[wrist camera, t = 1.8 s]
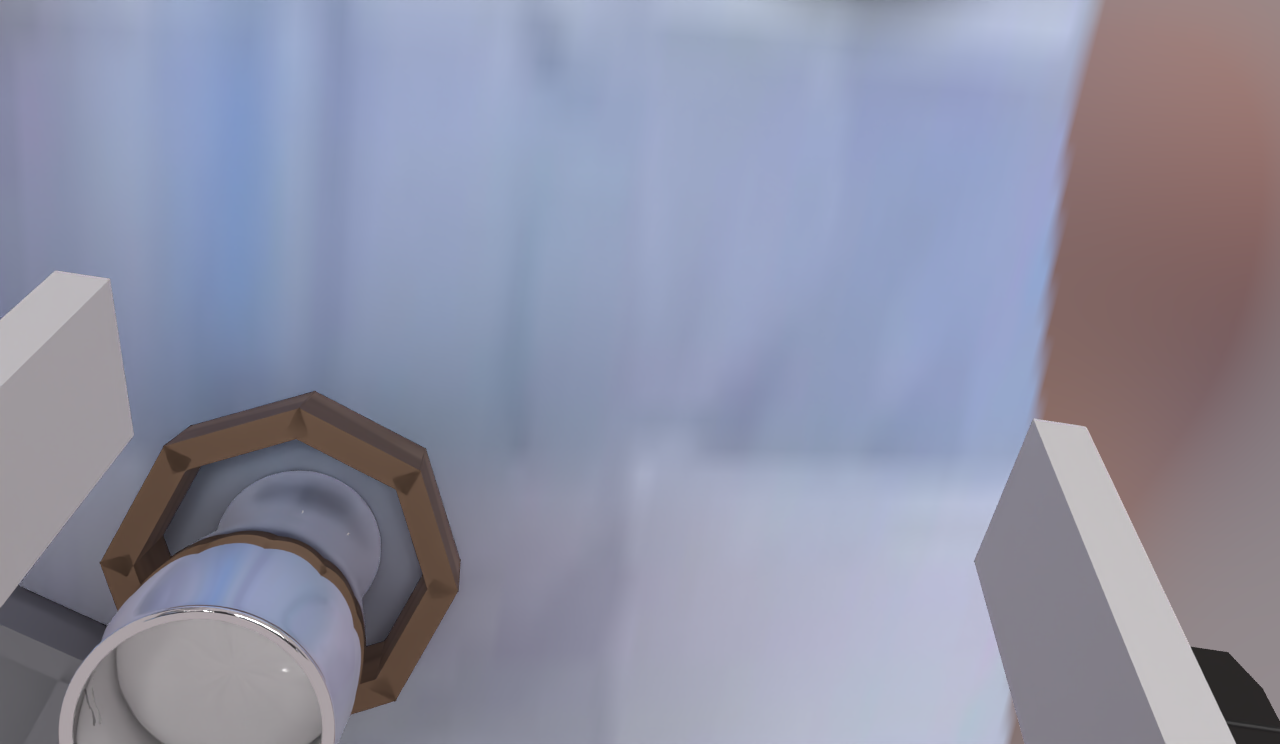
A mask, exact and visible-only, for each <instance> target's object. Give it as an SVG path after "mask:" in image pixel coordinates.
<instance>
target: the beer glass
mask: <svg viewBox="0 0 1280 744" xmlns="http://www.w3.org/2000/svg"><path fill="white" fill-rule="evenodd" d="M380 558H381V538H380V532H379V528H378V525H377V522H376V519H375V517H374V515H373V513H372V511H371V510H370V508H369V506H368V505H367V504H366V502H365V501H364V500H363V499H362V497H361V496H360V495H359V494H358V493H357V492H355V491H354V490H353V489H352V488H351V487H349V486H348V485H346V484H345V483H343V482H342V481H340V480H338V479H336V478H334V477H331V476H329V475H326V474H322V473H318V472H313V471H304V470H295V471H285V472H280V473H276V474H272V475H269V476H266V477H264V478H261V479H259V480H257V481H256V482H254V483H252V484H251V485H249V486H248V487H246V488H245V489H244V490H243V491H241V492H240V493H239V494H238V495H237V496H236V497H235V498H234V500H233V501H232V502H231V503H230V505H229V506H228V508H227V509H226V511H225V512H224V514H223V516H222V518H221V520H220V523H219V525H218V528H217V531H215V532H213V533H211V534H209V535H207V536H204V537H202V538H200V539H199V540H197V541H195V542H193V543H192V544H190V545H188V546H187V547H185V548H184V549H182V550H181V551H179V552H177V553H176V554H174V555H173V556H171V557H170V558H168V559H167V560H166V561H165V562H163V563H162V564H161V565H160V566H159V567H158V568H157V569H156V570H155V571H153V572H152V573H151V574H150V575H149V576H148V577H147V578H146V579H145V580H144V581H143V582H142V583H141V584H140V585H139V586H138V587H137V588H136V589H135V590H134V591H133V593H132V594H131V595H130V596H129V597H128V599H127V600H126V601H125V603H124V604H123V605H122V606H121V608H120V609H119V610H118V611H117V613H116V614H115V615H114V617H113V618H112V619H111V621H110V622H109V624H108V625H107V627H106V628H105V630H104V631H103V633H102V634H101V636H100V637H99V639H98V641H97V642H96V644H95V645H94V647H93V649H92V650H91V652H90V653H89V654H88V655H87V656H86V658H85V659H84V660H83V661H82V663H81V664H80V666H79V667H78V669H77V670H76V672H75V673H74V675H73V677H72V679H71V681H70V683H69V685H68V687H67V690H66V692H65V695H64V698H63V702H62V705H61V710H60V715H59V723H58V741H59V744H338V743H339V741H340V739H341V736H342V734H343V732H344V730H345V727H346V725H347V722H348V720H349V717H350V714H351V711H352V708H353V705H354V702H355V699H356V696H357V693H358V690H359V686H360V681H361V676H362V670H363V665H364V659H365V649H366V637H365V616H364V609H363V603H362V597H363V596H364V595H365V594H366V592H367V591H368V589H369V588H370V586H371V584H372V582H373V580H374V578H375V576H376V573H377V570H378V567H379V563H380Z"/></svg>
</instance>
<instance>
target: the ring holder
mask: <svg viewBox="0 0 1280 744" xmlns="http://www.w3.org/2000/svg"><path fill="white" fill-rule="evenodd" d="M295 439H297V440H299V441H301V442H303V443H305V444H307V445H309V446H311V447H313V448H315V449H317V450H319V451H321V452H323V453H325V454H327V455H329V456H331V457H333V458H335V459H337V460H339V461H341V462H343V463H345V464H346V465H348V466H350V467H352V468H354V469H356V470H358V471H360V472H362V473H364V474H366V475H368V476H370V477H372V478H374V479H376V480H378V481H380V482H382V483H384V484H386V485H388V486H390V487H392V488H394V489H396V491H397V494H398V497H399V501H400V504H401V507H402V510H403V513H404V516H405V520H406V523H407V526H408V529H409V532H410V535H411V539H412V542H413V545H414V548H415V551H416V554H417V558H418V561H419V564H420V567H421V570H422V573H423V575H422V576H421V578H420V580H419V582H418V584H417V585H416V587H415V589H414V591H413V592H412V594H411V596H410V598H409V599H408V601H407V603H406V605H405V606H404V608H403V610H402V612H401V613H400V615H399V617H398V619H397V620H396V622H395V624H394V626H393V627H392V629H391V631H390V633H389V635H388V636H387V638H386V640H385V641H383V642H380V643H377V644H373V645H370V646H367V647H366V649H365V659H364V665H363V670H362V676H361V681H360V686H359V690H358V693H357V696H356V699H355V702H354V705H353V708H352V711H351V714H354V713H357V712H361V711H364V710H367V709H370V708H374V707H377V706H380V705H383V704H387V703H390V702H393V701H396V699H397V697H398V695H399V694H400V692H401V690H402V688H403V687H404V685H405V683H406V681H407V680H408V678H409V676H410V674H411V673H412V671H413V669H414V667H415V666H416V664H417V662H418V660H419V659H420V657H421V655H422V653H423V652H424V650H425V648H426V646H427V645H428V643H429V641H430V639H431V638H432V636H433V634H434V632H435V631H436V629H437V627H438V625H439V624H440V622H441V620H442V618H443V617H444V615H445V613H446V611H447V610H448V608H449V606H450V604H451V603H452V601H453V599H454V597H455V596H456V594H457V592H458V589H459V575H460V560H461V559H460V558H459V555H458V551H457V548H456V545H455V542H454V538H453V535H452V532H451V529H450V526H449V522H448V519H447V516H446V513H445V509H444V506H443V503H442V500H441V496H440V493H439V490H438V487H437V483H436V480H435V477H434V474H433V470H432V467H431V464H430V461H429V457H428V454H427V451H426V448H423V447H422V446H420V445H418V444H416V443H414V442H412V441H410V440H408V439H406V438H404V437H402V436H400V435H398V434H397V433H395V432H393V431H391V430H389V429H387V428H385V427H383V426H381V425H379V424H377V423H375V422H373V421H371V420H370V419H368V418H366V417H364V416H362V415H360V414H358V413H356V412H354V411H352V410H350V409H348V408H346V407H345V406H343V405H341V404H339V403H337V402H335V401H333V400H331V399H329V398H327V397H325V396H323V395H321V394H319V393H318V392H316V391H313V392H310V393H306V394H303V395H299V396H296V397H292V398H288V399H285V400H281V401H278V402H274V403H270V404H267V405H263V406H260V407H256V408H253V409H249V410H245V411H242V412H238V413H235V414H231V415H227V416H224V417H220V418H217V419H213V420H210V421H206V422H202V423H199V424H195V425H191V426H190V427H188V428H187V429H186V430H184V431H183V432H181V433H180V434H179V435H177V436H176V437H175V438H173V439H172V440H171V441H169V442H168V443H167V444H165V445H164V446H163V449H162V450H161V452H160V454H159V456H158V458H157V460H156V461H155V463H154V465H153V467H152V469H151V471H150V472H149V474H148V476H147V478H146V480H145V482H144V483H143V485H142V487H141V489H140V491H139V493H138V494H137V496H136V498H135V500H134V502H133V504H132V505H131V507H130V509H129V511H128V513H127V515H126V516H125V518H124V520H123V522H122V524H121V525H120V527H119V529H118V531H117V533H116V535H115V536H114V538H113V540H112V542H111V544H110V546H109V547H108V549H107V551H106V553H105V555H104V557H103V558H102V560H101V562H100V565H101V567H102V570H103V573H104V575H105V578H106V581H107V583H108V586H109V589H110V591H111V594H112V597H113V600H114V602H115V605H116V608H117V610H119V609H120V608H121V606H122V605H123V604H124V603H125V601H126V600H127V599H128V597H129V596H130V595H131V594H132V593H133V591H134V590H135V589H136V588H137V587H138V586H139V585H140V584H141V583H142V582H143V581H144V580H145V579H146V578H147V577H148V576H149V575H150V574H151V573H152V572H153V571H155V570H156V569H157V568H158V567H159V566H160V565H161V564H162V563H163V562H165V561H166V560H167V559H168V558H170V557H171V556H170V553H169V550H168V548H167V545H166V542H165V539H164V537H163V535H164V533H165V531H166V529H167V527H168V526H169V524H170V522H171V520H172V518H173V516H174V515H175V513H176V511H177V509H178V507H179V506H180V504H181V502H182V500H183V498H184V496H185V495H186V493H187V491H188V489H189V487H190V485H191V484H192V482H193V480H194V478H195V476H196V475H197V473H198V471H199V469H200V467H201V466H203V465H206V464H210V463H213V462H217V461H220V460H224V459H227V458H231V457H234V456H238V455H242V454H245V453H249V452H252V451H256V450H259V449H263V448H266V447H270V446H273V445H277V444H280V443H284V442H288V441H291V440H295ZM351 714H350V715H351Z"/></svg>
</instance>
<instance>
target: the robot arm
mask: <svg viewBox="0 0 1280 744" xmlns="http://www.w3.org/2000/svg"><path fill="white" fill-rule="evenodd" d="M133 436H134V433H133V426H132V420H131V413H130V407H129V400H128V393H127V387H126V380H125V374H124V367H123V361H122V354H121V348H120V341H119V334H118V328H117V321H116V315H115V308H114V302H113V295H112V289H111V282H110V279H108V278H102V277H95V276H88V275H82V274H75V273H69V272H62V271H54V272H53V273H52V274H51V275H50V276H49V277H47V278H46V279H45V280H44V281H43V282H42V283H41V284H40V285H39V286H37V287H36V288H35V289H34V290H33V291H32V292H31V293H30V294H28V295H27V296H26V297H25V298H24V299H23V300H22V301H21V302H20V303H18V304H17V305H16V306H15V307H14V308H13V309H12V310H11V311H9V312H8V313H7V314H6V315H5V316H4V317H3V318H2V319H1V320H0V608H1V606H2V605H3V604H4V603H5V601H6V600H7V599H8V597H9V596H10V595H11V594H12V592H13V591H14V590H15V588H16V587H17V586H18V585H19V583H20V582H21V581H22V579H23V578H24V577H25V575H26V574H27V573H28V572H29V570H30V569H31V568H32V566H33V565H34V564H35V563H36V561H37V560H38V559H39V557H40V556H41V555H42V554H43V552H44V551H45V550H46V548H47V547H48V546H49V545H50V543H51V542H52V541H53V539H54V538H55V537H56V535H57V534H58V533H59V532H60V530H61V529H62V528H63V526H64V525H65V524H66V523H67V521H68V520H69V519H70V517H71V516H72V515H73V514H74V512H75V511H76V510H77V508H78V507H79V506H80V504H81V503H82V502H83V501H84V499H85V498H86V497H87V495H88V494H89V493H90V492H91V490H92V489H93V488H94V486H95V485H96V484H97V483H98V481H99V480H100V479H101V477H102V476H103V475H104V474H105V472H106V471H107V470H108V468H109V467H110V466H111V464H112V463H113V462H114V461H115V459H116V458H117V457H118V455H119V454H120V453H121V452H122V450H123V449H124V448H125V446H126V445H127V444H128V443H129V441H130V440H131V439H132V437H133ZM974 562H975V565H976V569H977V573H978V576H979V580H980V583H981V587H982V591H983V594H984V598H985V602H986V605H987V609H988V612H989V616H990V620H991V623H992V627H993V631H994V634H995V638H996V641H997V645H998V649H999V652H1000V656H1001V660H1002V663H1003V667H1004V670H1005V674H1006V678H1007V681H1008V685H1009V689H1010V692H1011V696H1012V699H1013V703H1014V707H1015V710H1016V714H1017V717H1018V721H1019V725H1020V728H1021V732H1022V735H1023V739H1024V743H1025V744H1280V721H1279V719H1278V717H1277V715H1276V713H1275V711H1274V709H1273V708H1272V706H1271V704H1270V702H1269V700H1268V698H1267V696H1266V694H1265V692H1264V690H1263V689H1262V687H1261V686H1260V685H1259V684H1258V683H1257V682H1256V681H1255V680H1254V679H1253V678H1252V677H1251V676H1250V675H1249V674H1248V673H1247V672H1246V671H1245V670H1244V669H1243V668H1242V666H1240V664H1239V663H1238V662H1237V661H1236V660H1235V659H1234V658H1233V657H1232V656H1231V655H1230V654H1229V653H1228V652H1223V651H1216V650H1209V649H1202V648H1195V647H1190V645H1189V643H1188V641H1187V639H1186V637H1185V635H1184V632H1183V631H1182V628H1181V626H1180V624H1179V622H1178V620H1177V618H1176V615H1175V613H1174V611H1173V609H1172V607H1171V606H1170V603H1169V601H1168V599H1167V596H1166V594H1165V592H1164V590H1163V588H1162V586H1161V584H1160V582H1159V580H1158V577H1157V575H1156V573H1155V571H1154V569H1153V567H1152V565H1151V563H1150V560H1149V558H1148V556H1147V554H1146V552H1145V550H1144V548H1143V546H1142V544H1141V541H1140V539H1139V537H1138V535H1137V533H1136V531H1135V529H1134V527H1133V525H1132V522H1131V520H1130V518H1129V516H1128V514H1127V512H1126V510H1125V508H1124V505H1123V504H1122V501H1121V499H1120V497H1119V495H1118V493H1117V491H1116V489H1115V487H1114V484H1113V482H1112V480H1111V478H1110V476H1109V474H1108V472H1107V470H1106V467H1105V465H1104V463H1103V461H1102V459H1101V457H1100V455H1099V453H1098V451H1097V448H1096V446H1095V444H1094V442H1093V440H1092V438H1091V436H1090V434H1089V431H1088V429H1087V428H1086V427H1085V426H1078V425H1071V424H1065V423H1058V422H1052V421H1045V420H1039V419H1033V420H1032V423H1031V425H1030V428H1029V430H1028V433H1027V435H1026V437H1025V440H1024V442H1023V445H1022V447H1021V449H1020V452H1019V454H1018V457H1017V459H1016V461H1015V464H1014V466H1013V469H1012V471H1011V473H1010V476H1009V478H1008V481H1007V483H1006V486H1005V488H1004V490H1003V493H1002V495H1001V498H1000V500H999V502H998V505H997V507H996V510H995V512H994V514H993V517H992V519H991V522H990V524H989V527H988V529H987V531H986V534H985V536H984V539H983V541H982V543H981V546H980V548H979V551H978V553H977V555H976V558H975V560H974Z"/></svg>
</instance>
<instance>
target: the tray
mask: <svg viewBox="0 0 1280 744" xmlns="http://www.w3.org/2000/svg"><path fill="white" fill-rule="evenodd" d="M106 627H107V626H105V625H103V624H101V623H99V622H97V621H94V620H92V619H90V618H88V617H86V616H83V615H81V614H79V613H77V612H75V611H72V610H70V609H68V608H66V607H64V606H61V605H59V604H57V603H55V602H53V601H50V600H48V599H46V598H44V597H42V596H39V595H37V594H35V593H33V592H31V591H28V590H26V589H24V588H22V587H20V586H17V587H16V588H15V590H14V591H13V592H12V594H11V595H10V596H9V597H8V599H7V600H6V601H5V603H4V604H3V605H2V606H1V608H0V744H59V741H58V723H59V715H60V710H61V705H62V702H63V698H64V695H65V692H66V690H67V687H68V685H69V683H70V681H71V679H72V677H73V675H74V673H75V672H76V670H77V669H78V667H79V666H80V664H81V663H82V661H83V660H84V659H85V658H86V656H87V655H88V654H89V653H90V652H91V650H92V649H93V647H94V645H95V644H96V642H97V641H98V639H99V637H100V636H101V634H102V633H103V631H104V630H105V628H106Z"/></svg>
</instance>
